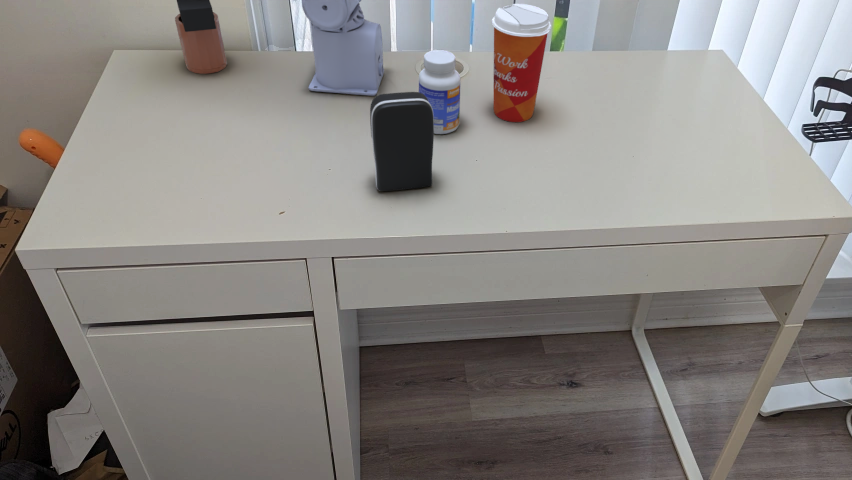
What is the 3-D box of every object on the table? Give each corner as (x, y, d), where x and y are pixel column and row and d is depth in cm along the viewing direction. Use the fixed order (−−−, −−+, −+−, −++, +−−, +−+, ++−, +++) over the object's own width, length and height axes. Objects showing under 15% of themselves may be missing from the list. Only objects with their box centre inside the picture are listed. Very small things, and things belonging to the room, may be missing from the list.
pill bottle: (453, 138, 95) (455, 69, 89) (413, 131, 96) (413, 62, 89) (463, 118, 99) (466, 51, 93) (425, 111, 100) (425, 44, 93)
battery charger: (428, 170, 89) (428, 85, 82) (434, 187, 87) (435, 101, 79) (371, 176, 88) (366, 89, 80) (376, 194, 85) (371, 106, 77)
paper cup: (474, 108, 101) (479, 9, 92) (514, 93, 106) (523, -3, 96) (512, 132, 97) (522, 31, 88) (552, 115, 102) (565, 18, 92)
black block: (216, 29, 98) (212, 7, 96) (185, 32, 97) (179, 10, 95) (207, 3, 104) (203, -18, 102) (177, 6, 103) (172, -16, 101)
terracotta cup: (232, 58, 107) (223, 11, 103) (220, 75, 103) (210, 27, 98) (194, 54, 107) (183, 8, 102) (180, 72, 103) (168, 24, 98)
